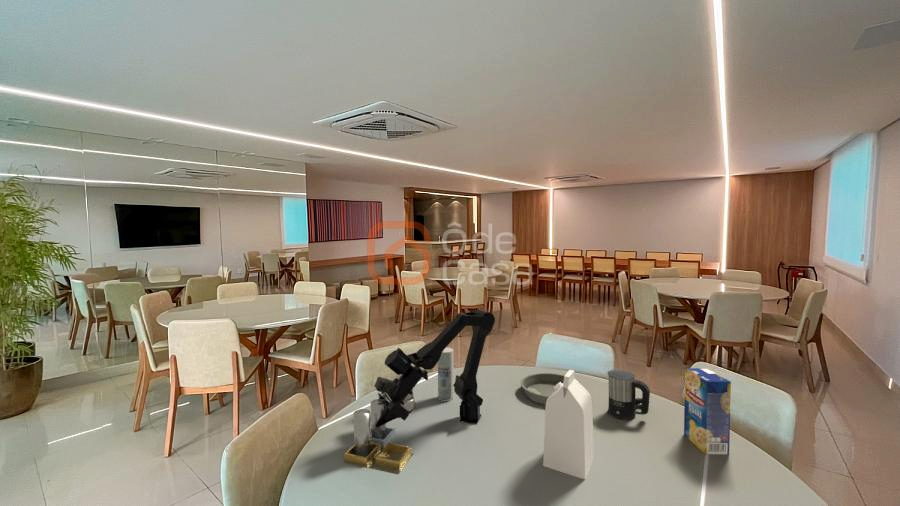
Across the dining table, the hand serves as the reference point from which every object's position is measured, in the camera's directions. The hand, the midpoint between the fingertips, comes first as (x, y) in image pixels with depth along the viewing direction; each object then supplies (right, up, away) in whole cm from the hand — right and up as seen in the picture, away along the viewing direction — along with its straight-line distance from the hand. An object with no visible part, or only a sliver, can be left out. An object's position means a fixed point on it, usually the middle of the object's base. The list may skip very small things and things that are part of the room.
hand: (374, 422), depth 117 cm
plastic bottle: (+8, -6, +22) cm, 24 cm away
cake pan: (+66, -5, +35) cm, 75 cm away
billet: (+1, -7, +1) cm, 7 cm away
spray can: (+23, -5, +32) cm, 39 cm away
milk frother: (+90, -5, +19) cm, 92 cm away
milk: (+59, -7, -10) cm, 60 cm away
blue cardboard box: (+104, -6, -3) cm, 104 cm away
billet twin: (-2, -6, -8) cm, 10 cm away
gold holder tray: (+3, -7, -9) cm, 12 cm away
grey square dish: (+1, -7, +1) cm, 7 cm away
